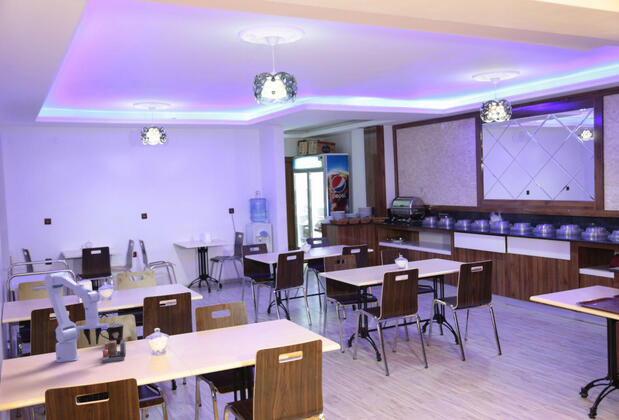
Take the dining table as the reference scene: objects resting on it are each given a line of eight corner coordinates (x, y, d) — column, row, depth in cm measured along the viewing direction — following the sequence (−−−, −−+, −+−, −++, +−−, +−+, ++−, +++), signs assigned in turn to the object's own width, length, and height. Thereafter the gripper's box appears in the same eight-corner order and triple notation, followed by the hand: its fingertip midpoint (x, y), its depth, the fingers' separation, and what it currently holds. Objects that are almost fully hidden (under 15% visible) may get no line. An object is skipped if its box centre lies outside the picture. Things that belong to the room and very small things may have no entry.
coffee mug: (127, 341, 315) (126, 323, 314) (120, 345, 306) (119, 327, 306) (107, 341, 316) (105, 323, 315) (99, 345, 307) (98, 327, 307)
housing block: (105, 355, 283) (104, 343, 283) (106, 353, 288) (105, 341, 287) (116, 354, 284) (115, 342, 284) (116, 351, 289) (116, 340, 289)
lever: (102, 359, 275) (101, 351, 275) (102, 358, 278) (102, 349, 278) (108, 359, 276) (108, 350, 276) (109, 357, 278) (108, 349, 278)
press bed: (102, 362, 275) (101, 348, 275) (105, 354, 289) (104, 341, 289) (124, 360, 278) (123, 346, 278) (126, 352, 291) (125, 339, 291)
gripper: (74, 319, 269) (76, 347, 270) (106, 316, 272) (108, 344, 273) (76, 316, 276) (78, 344, 276) (108, 313, 279) (109, 340, 280)
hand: (93, 344), depth 275 cm, fingers open, 3 cm apart
